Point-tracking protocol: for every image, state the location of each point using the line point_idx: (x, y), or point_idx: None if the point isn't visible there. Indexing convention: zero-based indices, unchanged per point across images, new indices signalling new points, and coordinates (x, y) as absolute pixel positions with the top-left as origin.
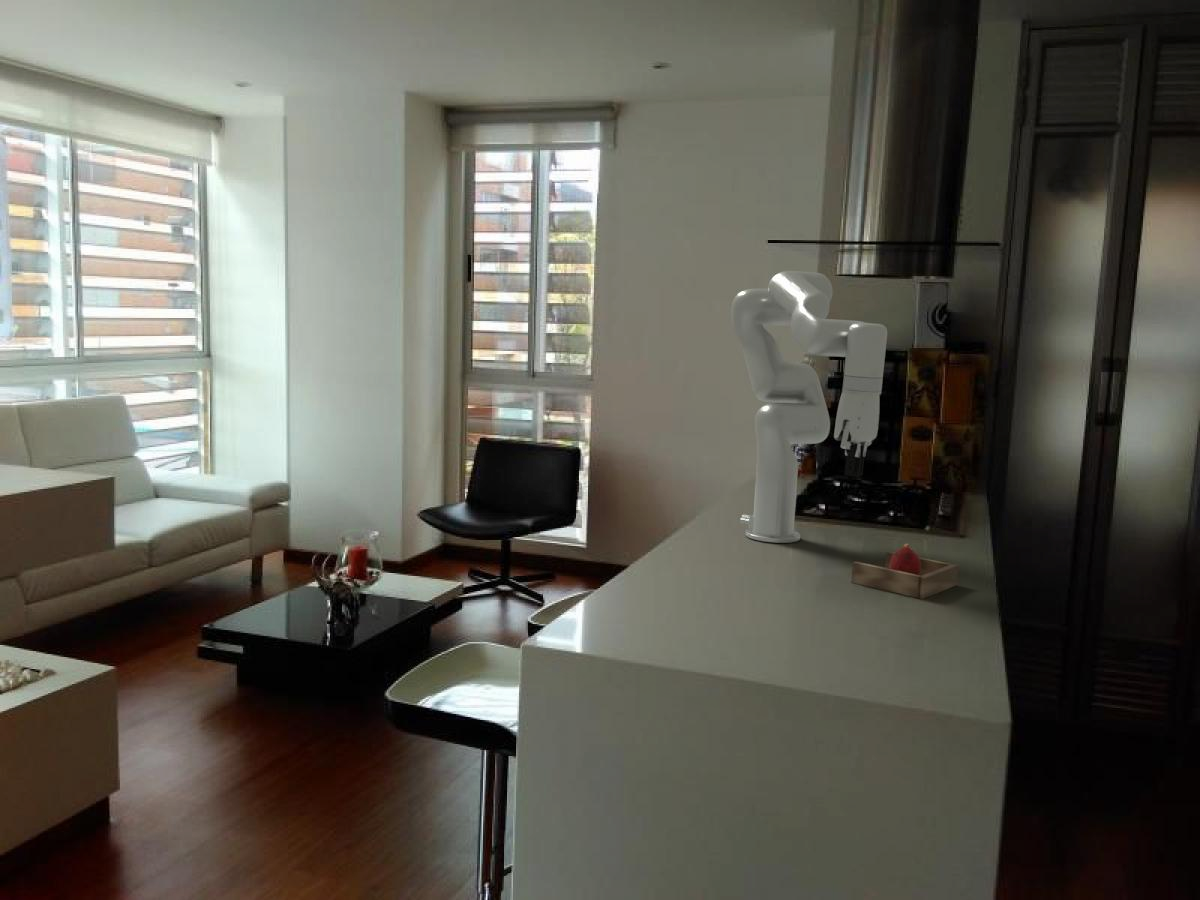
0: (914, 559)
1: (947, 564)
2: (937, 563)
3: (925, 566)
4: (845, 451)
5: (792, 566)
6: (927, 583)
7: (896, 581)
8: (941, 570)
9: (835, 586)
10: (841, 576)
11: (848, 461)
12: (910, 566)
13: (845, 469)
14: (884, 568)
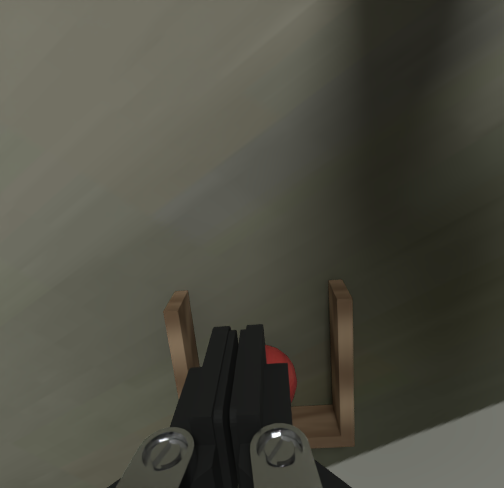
0: None
1: (340, 432)
2: (340, 411)
3: (336, 380)
4: (130, 467)
5: (168, 127)
6: None
7: None
8: None
9: (119, 289)
10: (198, 251)
11: (176, 418)
12: None
13: (210, 346)
14: (182, 377)
